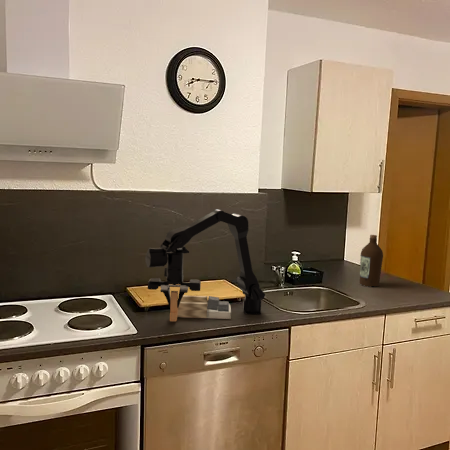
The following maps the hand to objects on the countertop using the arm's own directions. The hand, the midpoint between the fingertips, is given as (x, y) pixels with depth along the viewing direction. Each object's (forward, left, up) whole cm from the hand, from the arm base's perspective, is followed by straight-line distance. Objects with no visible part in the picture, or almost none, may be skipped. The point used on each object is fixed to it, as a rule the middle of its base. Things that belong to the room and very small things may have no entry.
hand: (174, 307), depth 174 cm
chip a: (-16, -10, -3) cm, 19 cm away
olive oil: (-92, -62, -6) cm, 111 cm away
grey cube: (-14, -10, -3) cm, 17 cm away
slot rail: (-6, -10, -5) cm, 13 cm away
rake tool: (0, 0, -4) cm, 4 cm away
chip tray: (-16, -10, -5) cm, 20 cm away
